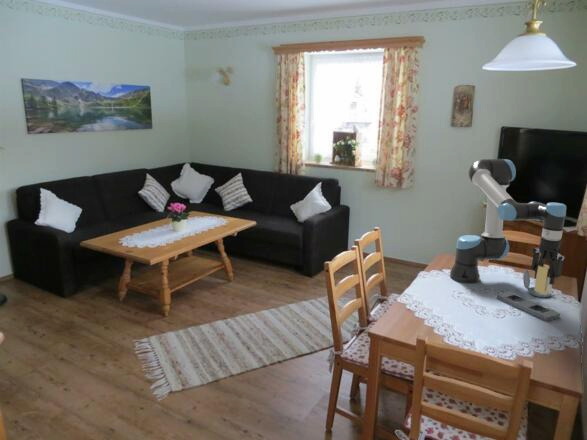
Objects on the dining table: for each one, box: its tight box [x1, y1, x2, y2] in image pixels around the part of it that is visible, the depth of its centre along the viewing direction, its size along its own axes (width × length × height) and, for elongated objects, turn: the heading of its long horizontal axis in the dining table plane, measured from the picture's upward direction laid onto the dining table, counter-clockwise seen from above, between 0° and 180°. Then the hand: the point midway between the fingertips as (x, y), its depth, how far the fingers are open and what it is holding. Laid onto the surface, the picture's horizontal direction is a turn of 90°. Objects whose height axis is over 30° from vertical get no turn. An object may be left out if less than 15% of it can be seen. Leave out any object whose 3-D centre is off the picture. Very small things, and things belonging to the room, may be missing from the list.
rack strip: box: [495, 291, 561, 322], centre depth 199 cm, size 26×9×2 cm, turn 26°
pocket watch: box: [522, 269, 556, 298], centre depth 214 cm, size 10×11×15 cm
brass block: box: [534, 263, 552, 294], centre depth 190 cm, size 4×4×12 cm
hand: (542, 288), depth 191 cm, fingers closed on brass block, 4 cm apart
